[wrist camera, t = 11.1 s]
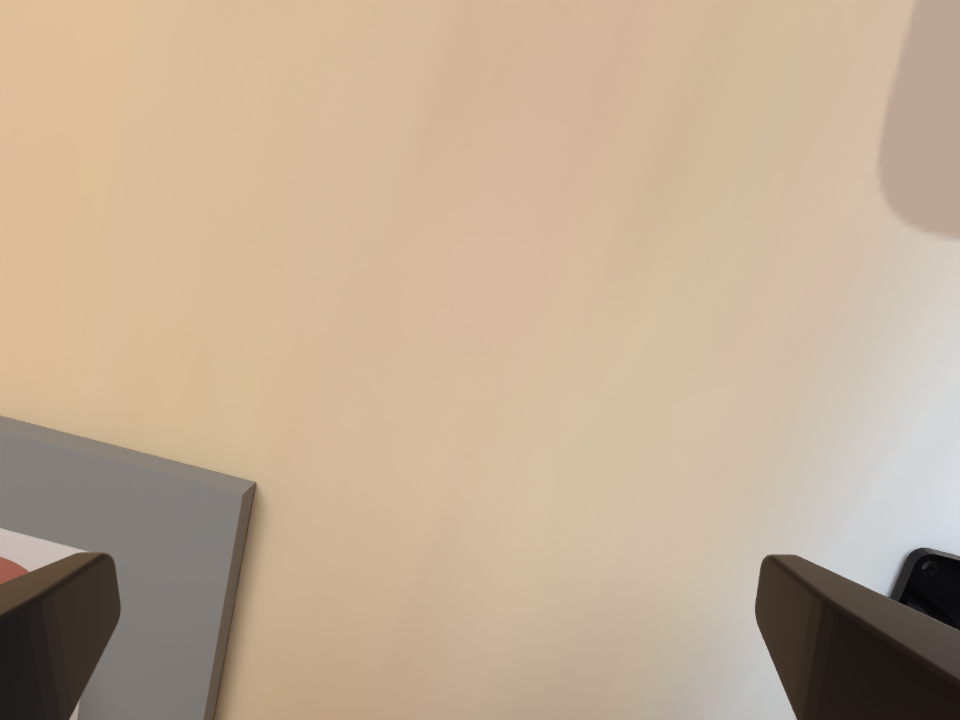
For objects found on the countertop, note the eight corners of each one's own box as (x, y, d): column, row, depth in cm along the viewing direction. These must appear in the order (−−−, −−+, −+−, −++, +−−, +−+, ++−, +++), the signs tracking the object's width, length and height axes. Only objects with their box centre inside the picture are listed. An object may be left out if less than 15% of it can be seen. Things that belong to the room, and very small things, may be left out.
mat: (255, 482, 22) (242, 494, 21) (196, 811, 25) (182, 836, 24) (-187, 367, 22) (-222, 374, 21) (-194, 704, 25) (-226, 725, 24)
